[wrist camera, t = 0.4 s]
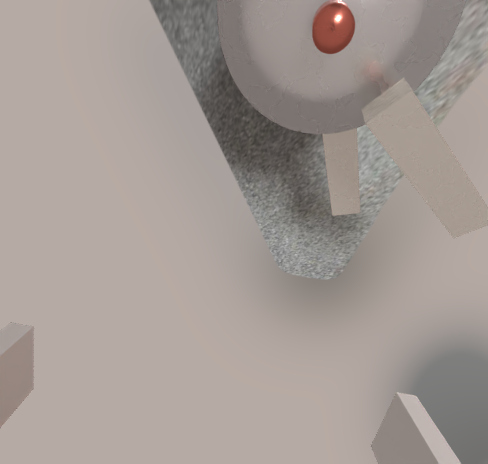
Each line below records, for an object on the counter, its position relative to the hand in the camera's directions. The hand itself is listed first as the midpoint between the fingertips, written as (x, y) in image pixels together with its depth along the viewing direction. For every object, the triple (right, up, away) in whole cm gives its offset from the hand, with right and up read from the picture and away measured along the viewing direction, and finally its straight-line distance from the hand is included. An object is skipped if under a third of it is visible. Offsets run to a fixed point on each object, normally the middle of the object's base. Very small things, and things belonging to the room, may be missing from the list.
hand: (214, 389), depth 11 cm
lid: (+11, +17, +12) cm, 23 cm away
